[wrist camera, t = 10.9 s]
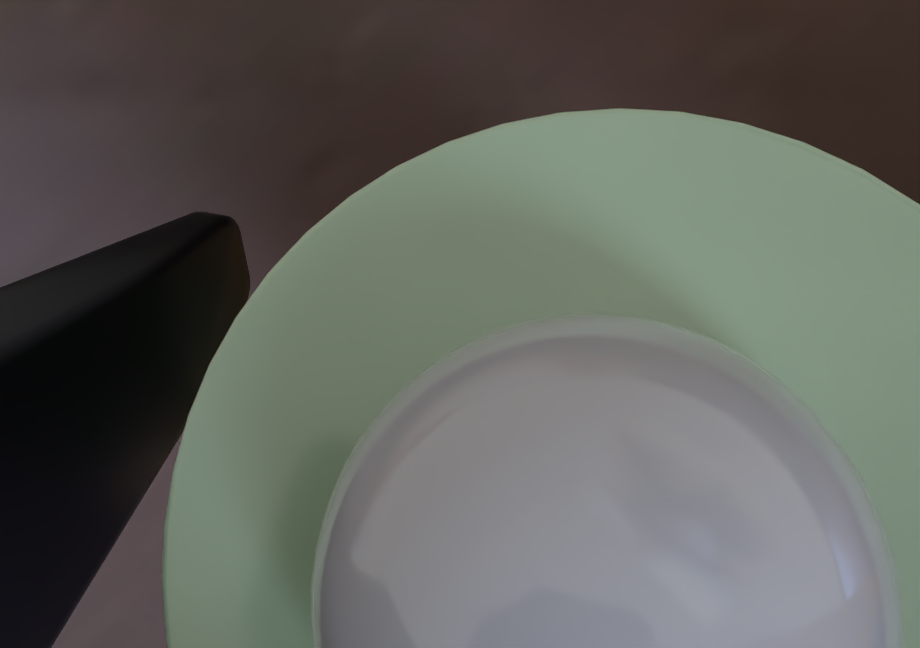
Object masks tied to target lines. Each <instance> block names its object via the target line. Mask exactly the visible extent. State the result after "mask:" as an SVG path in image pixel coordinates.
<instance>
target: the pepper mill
mask: <svg viewBox="0 0 920 648" xmlns="http://www.w3.org/2000/svg"><path fill="white" fill-rule="evenodd" d="M162 595H163V608H164V621H165V635H166V644H167V648H920V204H919V203H917V202H915V201H914V200H912V199H910V198H909V197H907V196H906V195H904V194H902V193H901V192H899V191H898V190H896V189H894V188H893V187H891V186H890V185H888V184H886V183H885V182H883V181H881V180H880V179H878V178H877V177H875V176H873V175H872V174H870V173H869V172H867V171H865V170H864V169H862V168H860V167H857V166H855V165H853V164H851V163H849V162H846V161H844V160H842V159H840V158H838V157H836V156H833V155H831V154H829V153H827V152H825V151H822V150H820V149H818V148H816V147H814V146H812V145H809V144H807V143H805V142H803V141H799V140H796V139H793V138H790V137H787V136H783V135H780V134H777V133H774V132H771V131H768V130H764V129H761V128H758V127H755V126H752V125H748V124H745V123H742V122H736V121H731V120H725V119H720V118H714V117H709V116H703V115H698V114H692V113H687V112H681V111H665V110H646V109H628V108H613V109H599V110H585V111H570V112H559V113H554V114H549V115H544V116H538V117H533V118H528V119H523V120H518V121H513V122H508V123H503V124H500V125H497V126H494V127H491V128H488V129H485V130H482V131H479V132H476V133H473V134H470V135H467V136H464V137H461V138H458V139H455V140H452V141H449V142H446V143H444V144H442V145H440V146H438V147H436V148H434V149H432V150H430V151H427V152H425V153H423V154H421V155H419V156H417V157H415V158H413V159H411V160H409V161H406V162H404V163H402V164H400V165H398V166H396V167H395V168H393V169H392V170H390V171H388V172H387V173H385V174H384V175H382V176H381V177H379V178H377V179H376V180H374V181H373V182H371V183H370V184H368V185H367V186H365V187H363V188H362V189H360V190H359V191H357V192H356V193H354V194H352V195H351V196H349V197H348V198H347V199H346V200H344V201H343V202H342V203H341V204H340V205H338V206H337V207H336V208H335V209H334V210H332V211H331V212H330V213H329V214H328V215H326V216H325V217H324V218H323V219H322V220H320V221H319V222H318V223H317V224H316V225H314V226H313V227H312V228H311V229H310V230H308V231H307V232H306V233H305V234H304V235H303V236H302V237H301V238H300V239H299V241H298V242H297V243H296V244H295V245H294V246H293V247H292V248H291V249H290V250H289V251H288V252H287V253H286V254H285V255H284V256H283V258H282V259H281V260H280V261H279V262H278V263H277V264H276V265H275V266H274V267H273V268H272V269H271V270H270V271H269V272H268V274H267V275H266V277H265V278H264V279H263V281H262V282H261V283H260V285H259V286H258V287H257V289H256V290H255V292H254V293H253V294H252V296H251V297H250V298H249V300H248V301H247V302H246V304H245V305H244V307H243V308H242V309H241V311H240V312H239V313H238V315H237V316H236V318H235V319H234V321H233V323H232V325H231V327H230V328H229V330H228V332H227V334H226V336H225V337H224V339H223V341H222V343H221V344H220V346H219V348H218V350H217V352H216V353H215V355H214V357H213V359H212V360H211V362H210V364H209V366H208V369H207V371H206V373H205V376H204V378H203V381H202V383H201V385H200V388H199V390H198V393H197V395H196V398H195V400H194V402H193V405H192V407H191V410H190V412H189V415H188V417H187V421H186V424H185V428H184V432H183V435H182V439H181V442H180V446H179V449H178V453H177V457H176V460H175V464H174V467H173V471H172V478H171V484H170V490H169V497H168V503H167V510H166V516H165V522H164V536H163V561H162Z"/></svg>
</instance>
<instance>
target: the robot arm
mask: <svg viewBox="0 0 920 648" xmlns="http://www.w3.org/2000/svg"><path fill="white" fill-rule="evenodd" d="M249 291H250V275H249V271H248V266H247V261H246V256H245V252H244V247H243V242H242V238H241V233H240V229H239V226H238V224H237V223H236V221H235V220H234V219H233V218H231V217H230V216H226V215H220V214H214V213H208V212H194V213H191V214H188V215H186V216H183V217H181V218H178V219H175V220H173V221H170V222H168V223H165V224H163V225H160V226H157V227H155V228H152V229H150V230H147V231H145V232H142V233H139V234H137V235H134V236H132V237H129V238H127V239H124V240H121V241H119V242H116V243H114V244H111V245H109V246H106V247H103V248H101V249H98V250H96V251H93V252H91V253H88V254H85V255H83V256H80V257H78V258H75V259H73V260H70V261H68V262H65V263H62V264H60V265H57V266H55V267H52V268H50V269H47V270H44V271H42V272H39V273H37V274H34V275H32V276H29V277H26V278H24V279H21V280H19V281H16V282H14V283H11V284H8V285H6V286H3V287H1V288H0V648H51V647H52V645H53V644H54V642H55V640H56V639H57V637H58V636H59V634H60V632H61V631H62V629H63V627H64V626H65V624H66V622H67V621H68V619H69V618H70V616H71V614H72V613H73V611H74V609H75V608H76V606H77V604H78V603H79V601H80V600H81V598H82V596H83V595H84V593H85V591H86V590H87V588H88V586H89V585H90V583H91V581H92V580H93V578H94V577H95V575H96V573H97V572H98V570H99V568H100V567H101V565H102V563H103V562H104V560H105V559H106V557H107V555H108V554H109V552H110V550H111V549H112V547H113V545H114V544H115V542H116V541H117V539H118V537H119V536H120V534H121V532H122V531H123V529H124V527H125V526H126V524H127V522H128V521H129V519H130V518H131V516H132V514H133V513H134V511H135V509H136V508H137V506H138V504H139V503H140V501H141V500H142V498H143V496H144V495H145V493H146V491H147V490H148V488H149V486H150V485H151V483H152V482H153V480H154V478H155V477H156V475H157V473H158V472H159V470H160V468H161V467H162V465H163V463H164V462H165V460H166V459H167V457H168V455H169V454H170V452H171V450H172V449H173V447H174V445H175V444H176V442H177V441H178V439H179V437H180V436H181V434H182V432H183V431H184V428H185V424H186V421H187V417H188V415H189V412H190V410H191V407H192V405H193V402H194V400H195V398H196V395H197V393H198V390H199V388H200V385H201V383H202V381H203V378H204V376H205V373H206V371H207V369H208V366H209V364H210V362H211V360H212V359H213V357H214V355H215V353H216V352H217V350H218V348H219V346H220V344H221V343H222V341H223V339H224V337H225V336H226V334H227V332H228V330H229V328H230V327H231V325H232V323H233V321H234V319H235V318H236V316H237V315H238V313H239V312H240V311H241V309H242V308H243V307H244V305H245V304H246V301H247V299H248V295H249Z"/></svg>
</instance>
